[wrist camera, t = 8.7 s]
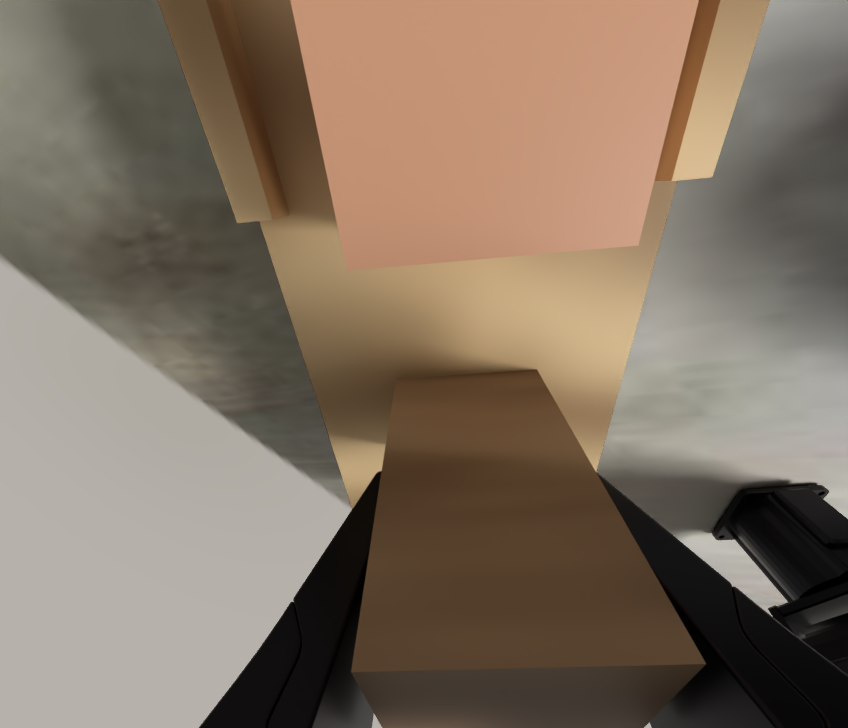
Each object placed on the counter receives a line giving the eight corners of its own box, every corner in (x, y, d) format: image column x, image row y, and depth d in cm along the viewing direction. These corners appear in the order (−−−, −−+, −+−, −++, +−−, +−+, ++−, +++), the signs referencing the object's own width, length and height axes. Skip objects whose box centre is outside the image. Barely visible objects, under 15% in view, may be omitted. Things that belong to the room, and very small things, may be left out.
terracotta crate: (543, 214, 8) (638, 245, 4) (381, 230, 8) (346, 271, 4) (566, -29, 6) (786, -351, 2) (348, -1, 6) (236, -255, 2)
